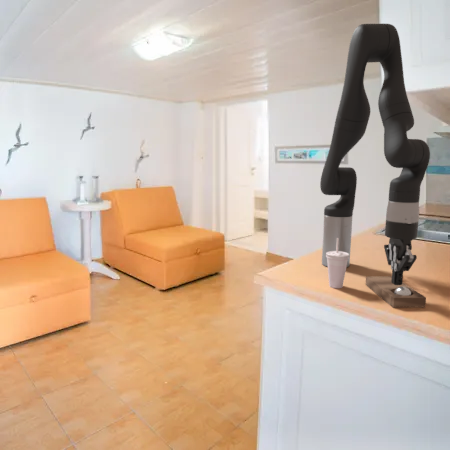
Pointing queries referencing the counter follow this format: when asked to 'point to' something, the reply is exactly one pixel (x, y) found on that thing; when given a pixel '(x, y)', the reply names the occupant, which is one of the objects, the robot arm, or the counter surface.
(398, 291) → the ball
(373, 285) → the brown ball holder
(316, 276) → the counter surface
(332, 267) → the smoothie
